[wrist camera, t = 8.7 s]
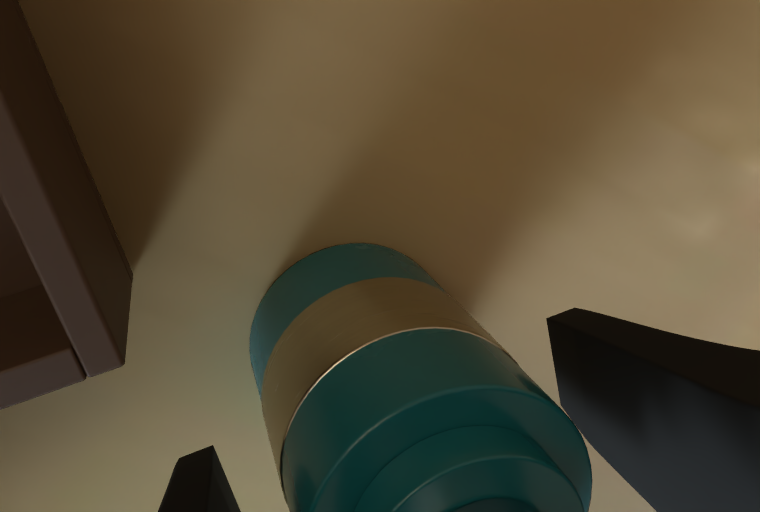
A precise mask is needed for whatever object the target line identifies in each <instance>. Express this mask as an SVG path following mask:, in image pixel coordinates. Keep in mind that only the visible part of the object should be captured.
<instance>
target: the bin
mask: <svg viewBox="0 0 760 512" xmlns="http://www.w3.org/2000/svg"><path fill="white" fill-rule="evenodd" d="M132 280H133V273H132V271H131V269H130V266H129V264H128V261H127V259H126V257H125V254H124V252H123V250H122V247H121V245H120V242H119V240H118V238H117V235H116V233H115V231H114V228H113V226H112V224H111V221H110V219H109V216H108V214H107V212H106V209H105V207H104V205H103V202H102V200H101V197H100V195H99V193H98V190H97V188H96V186H95V183H94V181H93V178H92V176H91V174H90V171H89V169H88V167H87V164H86V162H85V159H84V157H83V155H82V152H81V150H80V148H79V145H78V143H77V140H76V138H75V136H74V133H73V131H72V129H71V126H70V124H69V121H68V119H67V117H66V114H65V112H64V110H63V107H62V105H61V102H60V100H59V98H58V95H57V93H56V91H55V88H54V86H53V83H52V81H51V79H50V76H49V74H48V72H47V69H46V67H45V65H44V62H43V60H42V57H41V55H40V53H39V50H38V48H37V46H36V43H35V41H34V38H33V36H32V34H31V31H30V29H29V27H28V24H27V22H26V19H25V17H24V15H23V12H22V10H21V8H20V5H19V3H18V0H0V410H1V409H4V408H7V407H10V406H13V405H15V404H18V403H21V402H24V401H27V400H30V399H32V398H35V397H38V396H41V395H44V394H47V393H49V392H52V391H55V390H58V389H61V388H64V387H67V386H69V385H72V384H75V383H78V382H81V381H84V380H85V379H86V377H87V376H88V377H93V376H96V375H99V374H102V373H104V372H107V371H110V370H113V369H116V368H119V367H121V366H123V365H124V364H125V355H126V344H127V333H128V322H129V310H130V299H131V288H132Z"/></svg>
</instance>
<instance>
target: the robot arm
mask: <svg viewBox="0 0 760 512" xmlns="http://www.w3.org/2000/svg"><path fill="white" fill-rule="evenodd" d="M546 319H547V325H548V331H549V337H550V343H551V349H552V355H553V361H554V367H555V373H556V379H557V385H558V391H559V397H560V403H561V406H562V407H563V409H564V410H565V411H566V413H567V414H568V415H569V417H570V418H571V420H572V421H573V422H574V424H575V425H576V426H577V428H578V429H579V430H580V432H581V433H582V434H583V435H584V437H585V438H586V439H587V441H588V442H589V443H590V444H591V445H592V446H593V448H594V449H595V450H596V451H597V452H598V453H599V454H600V455H601V456H602V457H603V458H604V459H605V460H606V461H607V462H608V463H609V464H610V465H611V466H612V467H613V468H614V469H615V470H616V471H617V472H618V473H619V474H620V475H621V476H622V477H623V478H624V479H625V480H626V481H627V482H628V483H629V484H630V485H631V486H632V487H633V488H634V489H635V490H636V491H637V492H638V493H639V494H640V495H641V496H642V497H643V498H644V499H645V500H646V501H647V502H648V503H649V504H650V505H651V506H652V507H653V508H654V509H655V510H656V511H657V512H760V351H758V350H751V349H745V348H739V347H733V346H728V345H723V344H719V343H714V342H709V341H704V340H699V339H695V338H691V337H686V336H682V335H678V334H674V333H670V332H666V331H662V330H659V329H655V328H651V327H647V326H644V325H640V324H636V323H633V322H629V321H626V320H622V319H618V318H615V317H611V316H607V315H604V314H600V313H596V312H592V311H588V310H583V309H578V308H573V309H570V310H567V311H565V312H562V313H559V314H557V315H554V316H552V317H549V318H546ZM158 512H241V511H240V509H239V507H238V504H237V502H236V499H235V497H234V495H233V492H232V490H231V487H230V485H229V482H228V480H227V478H226V475H225V473H224V470H223V468H222V466H221V463H220V461H219V458H218V456H217V454H216V451H215V449H214V446H213V445H212V446H210V447H207V448H204V449H202V450H199V451H196V452H194V453H191V454H189V455H186V456H183V457H181V458H179V459H178V461H177V463H176V465H175V467H174V470H173V473H172V476H171V479H170V481H169V484H168V487H167V489H166V492H165V495H164V497H163V500H162V502H161V505H160V507H159V510H158Z"/></svg>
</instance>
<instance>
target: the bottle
mask: <svg viewBox="0 0 760 512" xmlns="http://www.w3.org/2000/svg"><path fill="white" fill-rule="evenodd" d="M250 358H251V364H252V368H253V372H254V376H255V380H256V383H257V387H258V391H259V395H260V399H261V403H262V411H263V417H264V421H265V425H266V429H267V432H268V436H269V440H270V444H271V448H272V452H273V456H274V460H275V464H276V468H277V472H278V476H279V480H280V484H281V487H282V491H283V494H284V498H285V501H286V503H287V505H288V507H289V511H290V512H588V510H589V505H590V500H591V492H592V471H591V463H590V459H589V455H588V451H587V447H586V445H585V443H584V440H583V438H582V435H581V434H580V432H579V431H578V429H577V427H576V426H575V424H574V423H573V421H572V420H571V419H570V418H569V417H568V416H567V415H566V414H565V413H564V412H563V410H562V409H561V408H560V407H559V406H558V405H557V404H556V403H555V402H554V401H553V400H552V399H551V398H550V397H549V396H548V395H547V394H546V393H545V392H544V391H543V390H542V389H541V388H540V387H539V386H538V385H537V384H536V383H535V382H534V381H533V380H532V379H531V378H530V377H529V376H528V375H527V374H526V373H525V372H524V371H523V370H522V369H521V368H520V367H519V365H518V364H517V362H516V361H515V360H514V359H513V358H512V357H511V356H510V355H509V353H508V352H507V351H506V350H505V349H504V348H503V347H502V346H501V345H500V344H499V343H498V342H497V341H496V340H495V339H494V338H493V337H492V336H491V335H490V334H489V333H488V332H487V331H486V330H485V329H484V328H483V327H482V326H481V325H480V324H479V323H478V322H477V321H476V320H475V319H474V318H473V317H472V316H471V315H470V314H469V313H468V312H467V311H466V310H465V309H464V308H463V307H462V306H461V305H460V304H459V303H458V302H457V301H456V300H454V299H453V298H452V297H451V296H449V295H448V294H447V293H446V292H445V291H444V290H443V289H442V288H441V287H440V286H439V285H438V284H437V283H436V282H435V281H434V280H433V279H432V278H431V277H430V276H429V275H428V274H427V273H426V272H425V271H424V270H423V269H422V268H421V267H420V266H419V265H418V264H417V263H415V262H414V261H413V260H412V259H410V258H409V257H407V256H405V255H404V254H402V253H400V252H398V251H395V250H393V249H390V248H387V247H383V246H379V245H374V244H366V243H351V244H344V245H337V246H333V247H330V248H326V249H323V250H320V251H318V252H316V253H313V254H311V255H309V256H307V257H305V258H304V259H302V260H300V261H298V262H297V263H296V264H294V265H293V266H292V267H290V268H289V269H287V270H286V271H285V272H284V273H283V274H282V275H281V276H280V277H279V278H278V279H277V280H276V281H275V282H274V284H273V285H272V286H271V287H270V288H269V290H268V291H267V293H266V294H265V296H264V298H263V299H262V301H261V303H260V305H259V307H258V309H257V311H256V314H255V317H254V320H253V323H252V328H251V334H250Z"/></svg>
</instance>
